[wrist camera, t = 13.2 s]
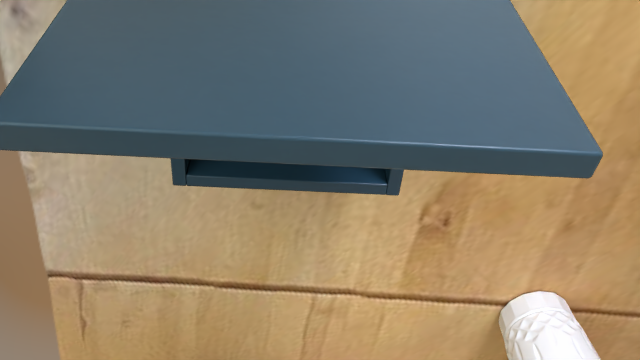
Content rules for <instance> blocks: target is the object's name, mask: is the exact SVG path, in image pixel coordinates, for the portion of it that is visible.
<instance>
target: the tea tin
mask: <svg viewBox="0 0 640 360" xmlns="http://www.w3.org/2000/svg"><path fill="white" fill-rule="evenodd" d="M171 168H172V179H173V185H180V186H186V184H187V186H203V187H225V188H247V189H269V190H292V191H314V192H336V193H358V194H380V195H385V194H386V195H399V192H400V187H401V182H402V177H403V172H404V169H383V168H362V167H342V166H321V165H300V164H280V163H259V162H238V161H218V160H197V159H176V158H171Z"/></svg>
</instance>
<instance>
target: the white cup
mask: <svg viewBox="0 0 640 360" xmlns="http://www.w3.org/2000/svg"><path fill="white" fill-rule="evenodd" d="M498 322H499V326H500V329H501V332H502V335H503V338H504V342H505V348H506V353H507V357H508V360H601V359H600V357H599V355H598V354H597V352H596V350H595V348H594V347H593V345H592V343H591V342H590V340H589V339H588V337H587V335H586V333H585V332H584V330H583V328H582V327H581V325H580V324H579V323H578V322H577V320H576V319H575V317H574V315H573V314H572V312H571V310H570V308H569V306H568V305H567V303H566V301H565V299H563V298H562V297H560V296H558V295H557V294H555V293H552V292H543V291H537V292H532V293H527V294H523V295H521V296H519V297H517V298H515V299H513V300H511V301H510V302H509V303H508V304H507V305H506V306H505V307H504V308H503V309H502V310H501V313H500V317H499V321H498Z"/></svg>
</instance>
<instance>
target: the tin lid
mask: <svg viewBox="0 0 640 360" xmlns="http://www.w3.org/2000/svg"><path fill="white" fill-rule="evenodd" d="M0 150H12V151H32V152H52V153H73V154H94V155H114V156H135V157H156V158H176V159H197V160H218V161H238V162H259V163H280V164H300V165H321V166H342V167H362V168H383V169H404V170H424V171H445V172H466V173H487V174H507V175H528V176H549V177H569V178H590V177H592V175H593V173H594V171H595V169H596V168H597V166H598V164H599V162H600V160H601V158H602V156H603V152H602V151H601V149H600V147H599V146H598V144H597V142H596V141H595V139H594V137H593V136H592V134H591V133H590V131H589V129H588V128H587V126H586V124H585V123H584V121H583V119H582V118H581V116H580V114H579V113H578V111H577V110H576V108H575V106H574V105H573V103H572V101H571V100H570V98H569V96H568V95H567V93H566V92H565V90H564V88H563V87H562V85H561V83H560V82H559V80H558V78H557V77H556V75H555V73H554V72H553V70H552V69H551V67H550V65H549V64H548V62H547V60H546V59H545V57H544V55H543V54H542V52H541V51H540V49H539V47H538V46H537V44H536V42H535V41H534V39H533V37H532V36H531V34H530V32H529V31H528V29H527V28H526V26H525V24H524V23H523V21H522V19H521V18H520V16H519V14H518V13H517V11H516V10H515V8H514V6H513V5H512V3H511V1H510V0H67V1H66V3H65V4H64V6H63V7H62V9H61V10H60V11H59V13H58V14H57V16H56V17H55V19H54V20H53V21H52V23H51V24H50V26H49V27H48V29H47V30H46V31H45V33H44V34H43V36H42V37H41V39H40V40H39V41H38V43H37V44H36V46H35V47H34V49H33V50H32V51H31V53H30V54H29V56H28V57H27V59H26V60H25V61H24V63H23V64H22V66H21V67H20V69H19V70H18V72H17V73H16V74H15V76H14V77H13V79H12V80H11V82H10V83H9V84H8V86H7V87H6V89H5V90H4V92H3V93H2V94H1V96H0Z"/></svg>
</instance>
